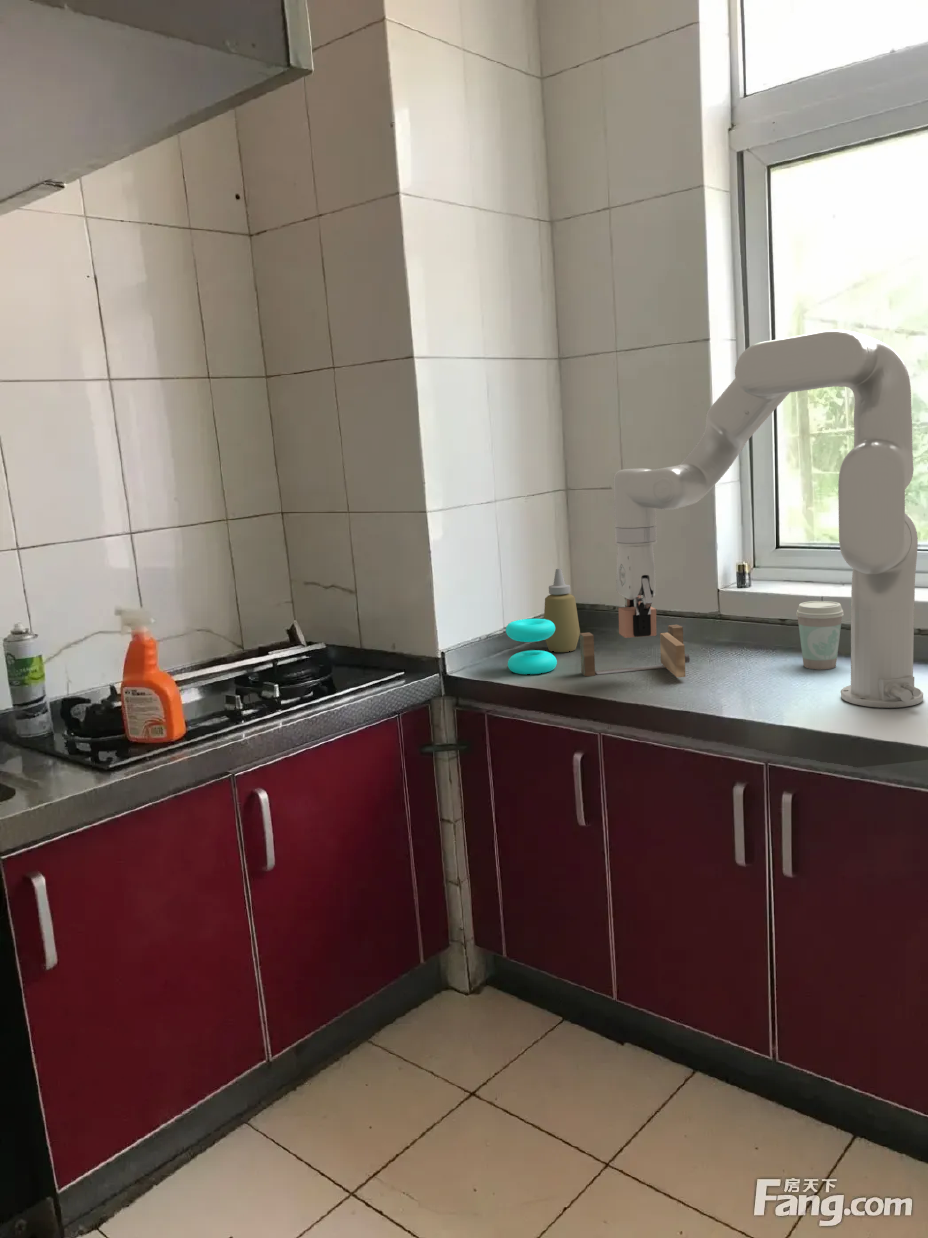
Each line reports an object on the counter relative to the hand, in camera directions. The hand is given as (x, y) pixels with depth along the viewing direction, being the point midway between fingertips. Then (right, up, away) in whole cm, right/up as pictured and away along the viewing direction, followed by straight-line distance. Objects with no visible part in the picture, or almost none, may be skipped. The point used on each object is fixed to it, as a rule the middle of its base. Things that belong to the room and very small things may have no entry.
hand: (638, 632), depth 187 cm
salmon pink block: (0, 0, 0) cm, 0 cm away
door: (+8, -7, +4) cm, 11 cm away
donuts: (-19, -8, +16) cm, 26 cm away
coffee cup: (+35, -7, +3) cm, 36 cm away
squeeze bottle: (-11, -5, +32) cm, 34 cm away
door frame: (0, -8, +10) cm, 12 cm away
